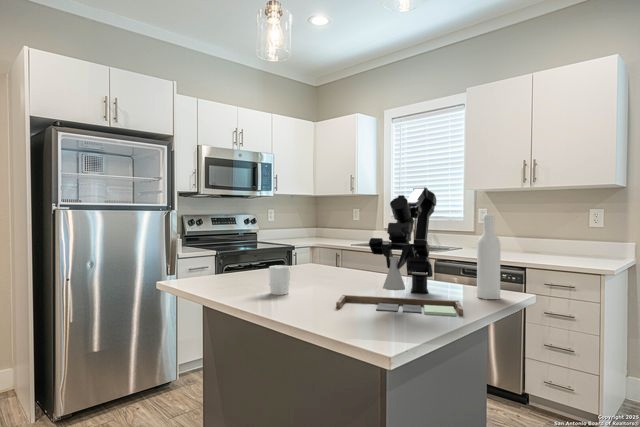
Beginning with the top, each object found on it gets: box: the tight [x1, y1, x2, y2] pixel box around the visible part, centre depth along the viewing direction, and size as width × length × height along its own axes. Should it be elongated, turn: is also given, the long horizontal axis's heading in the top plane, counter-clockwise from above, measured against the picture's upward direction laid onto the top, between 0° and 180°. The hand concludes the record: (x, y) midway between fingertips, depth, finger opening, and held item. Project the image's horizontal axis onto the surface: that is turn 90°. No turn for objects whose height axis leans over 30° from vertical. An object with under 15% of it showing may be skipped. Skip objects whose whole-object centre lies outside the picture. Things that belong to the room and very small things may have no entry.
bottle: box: [476, 213, 501, 300], centre depth 148 cm, size 8×8×30 cm
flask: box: [382, 256, 406, 291], centre depth 129 cm, size 7×7×10 cm
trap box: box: [335, 294, 464, 317], centre depth 132 cm, size 12×38×2 cm, turn 77°
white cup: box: [268, 264, 291, 296], centre depth 154 cm, size 8×8×10 cm
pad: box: [423, 305, 457, 317], centre depth 127 cm, size 9×9×1 cm
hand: (393, 267), depth 128 cm, fingers closed on flask, 3 cm apart
